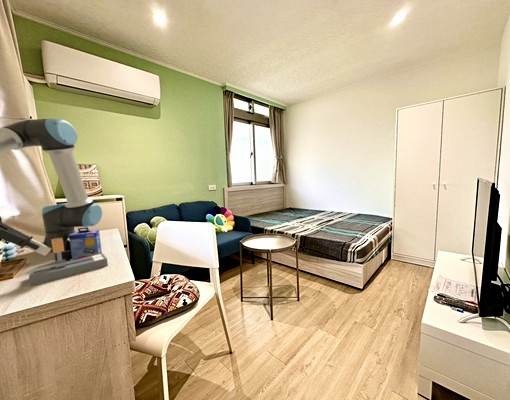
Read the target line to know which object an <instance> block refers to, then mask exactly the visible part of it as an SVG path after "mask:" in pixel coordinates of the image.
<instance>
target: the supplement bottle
mask: <svg viewBox="0 0 510 400" xmlns="http://www.w3.org/2000/svg"><path fill="white" fill-rule="evenodd" d="M69 235H70V233H69V232H65V233H59V234H56V235H55V236H56V238H62V239H63V245H64V251H62V252H61V255H62V260H63V259H65V261H66V262H67V261H72V254H71V246H70V239H69ZM53 254H54V262H55V261H58V258H57V253H53Z"/></svg>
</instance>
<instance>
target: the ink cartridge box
mask: <svg viewBox="0 0 510 400" xmlns="http://www.w3.org/2000/svg"><path fill="white" fill-rule="evenodd" d="M69 239H70V246H71V254H72V260H76V259H80V258H85V257H89V256H94V255H98V254H102V253H103V251H102V243H101V235H100V230H99V229H93V230H90V229H89V227H77V231H75V232H74V233H72V234H70V235H69ZM72 260H71V261H72Z"/></svg>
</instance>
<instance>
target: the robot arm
mask: <svg viewBox="0 0 510 400" xmlns="http://www.w3.org/2000/svg"><path fill="white" fill-rule="evenodd" d="M77 142H78V134H77V131H76V129H75V127H74V126H73V125H72V124H71V123H70V122H68V121H67V120H65V119H62V118H38V119H37V118H36V119H33V118H32V119H24V120H20V121H17V122H14V123H12V124H8V125H6V126H2V127H0V155H2V154H4V153H7V152H10V151H12V150H15V151H18V150H21V149H23V148H28V147H29V148H30V147H41V149H42V151H43V152H44V153H45V154H48V155H49V158H50V161H51V162H52V165H53V168H54V171H55V173H56V176H57V178H58V182H59V185H60V186H61V189H62V191H63V194H64V197H65V199H66V203H65V202H64V203H57V204H51V205H46V206H44V207H42V209H41V212H42V214H41V216H42V222H43V226H44V233H45V236H44V239H43V242H42V243H41V242H39V241H37V240H35V239H34V236H33V235H31V236H29V235H27V234H26V233H23V232H21V231H19V230H18V229H15V228H13V227H12V226H9V225H8V224H6V223H5V222H3V221H2V220H0V239H1V240H4V241H7V243H11V244H14V245H16V246H18V247H20V249H23V248H24V247H25V248H27V249H28V250H30V251H34V252H35V253H38V254H40V255H41V256H45V257H46V256H47V255H48V254H49V253H50V252H53V248H52V240H51V239H56V236H55V235H56V234H59V233H65V232H69V233H70V234H72V233H74V232H76V231H75V228H86V227H88V228H89V227H94V226H97V225H98V224H99V223H100V222H101V219H102V217H103V209H102V206H100V205H99V204H98V203H97V204H96V203H95V202H94V199H92V198H91V197H89V195H88V193H87V191H86V187H85V184H84V181H83V178H82V175H81V173H80V170H79V167H78V164H77V162H76V159H75V156H74V153H73V151H74V150H75V147H76V146H75V144H76V143H77Z"/></svg>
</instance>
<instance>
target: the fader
mask: <svg viewBox="0 0 510 400" xmlns="http://www.w3.org/2000/svg"><path fill="white" fill-rule="evenodd" d="M51 240H52V248H53V251H52V254H54V253H57V258H58V261H55V260H54V264H55V268H58V267H62V266H66V262H67V261H65V259H63V260H62V255H61V252H62V251H64V245H63V239H62V238H56V239H51Z"/></svg>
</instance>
